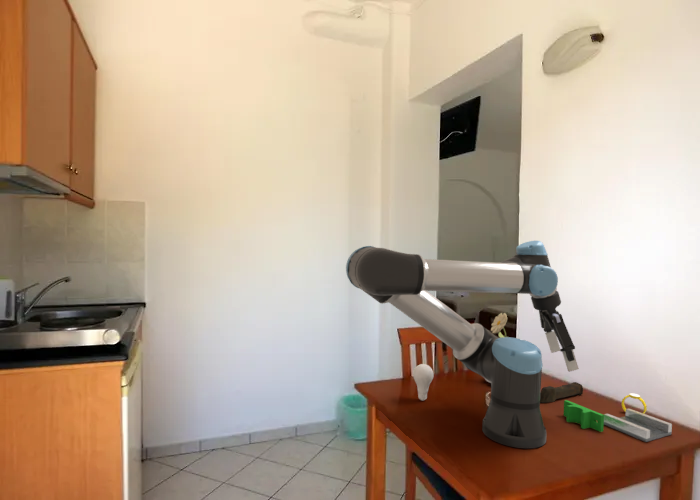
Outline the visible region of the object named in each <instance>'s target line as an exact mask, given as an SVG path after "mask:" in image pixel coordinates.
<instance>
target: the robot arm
mask: <svg viewBox="0 0 700 500" xmlns="http://www.w3.org/2000/svg"><path fill="white" fill-rule="evenodd" d="M515 251H516V252H515V253H516V254H515V255H514V256H512V257H509V258H506V259H503V260H502V261H499V262H491V261H473V260H469V261H468V260H455V259H454V260H453V259H452V260H450V259H435V258H434V259H431V258H423V257H422V255H421V254H415V253H406V252H405V253H404V252H401V251H396V250H392V249H389V248H384V247H376V246H373V245H365V246H362V247H359V248H357V249H355V250H354V251H353V252H352V253H351V254H350V255H349V257H348V259H347V260H346V261H347V262H346V265H345V272H346V276H347V279H348V281H349V283H350V284H352V286H353V287H355V288H357V289H360V290H361V291H363V292H364V293H366V295H368V296H369V297H371V298H372V299H373V300H375V301H377V302H378V303H380V304H381V305H383V304H386V303H387V304H388V303H389V304H390V305H391V306H393V307H395V308H396V309H397V310H398V311H400V312H402V313H403V314H404V315H406V316H407V317H408V318H410V319H411V320H412V321H413V322H415V323H416V324H418V325H419V326H420V327H422V328H424V329H425V330H426V331H428V332H429V333H430V334H432V335H433V336H435V337H436V338H437V339H438V340H439V341H441V342H442V343H444V344H445V345H446V346H448V347H450V348H451V349H452V354H453V356H454V358H456V360H458V361H459V362H461V363H462V364H463V365H464V366H465V367H466V368H467V369H468V370H470V371H472V373H473V372H474V373H475V374H478V375H479V376H481V377H482V378H483V379H484V380H485V379H487V380H488V381H490V382H491V383H490V402H489V404H488V406H487V410H486V412H485V416H484V418H483V419H482V428H481V429H482V432H483V434H484V435H485V436H486V437H487V438H489V439H490V440H491V441H493V442H495V443H498V444H501V445H504V446H507V447H512V448H517V449H536V448H540V447H542V446H544V445H545V444H546V443H547V429H546V426H545V425H544V419H543V416H542V412H541V407H540V406H541V402H540V393H541V390H542V387H541V386H542V373H543V358H542V355H543V354H542V351H541V349H540V348H539V347H538V346H537V345H536V344H534V343H532V342H530V341H528V340H525V339H521V338H516V337H509V336H508V337H507V336H506V337H505V336H504V337H502V338H500V337H499V336H497V335H496V334H495V333H492V331H491V330H489V329H487V328H486V327H484V326H483V325H482V324H481V323H477V322H474V323H470V322H469V321H467V320H466V319H465V318H464V317H463V316H461V315H460V314H458V313H457V312H455V311H454V310H453V309H452V308H450V307H449V306H448V305H446V304H445V303H444V302H442V301H440V299H438V298H437V297H435V296H434V295H433V294H432V293H430V292H455V293H457V292H461V293H463V292H465V293H466V292H467V293H494V294H497V293H498V294H499V293H501V294H519V295H520V294H521V295H523V294H526V295H529V296H530V300H531V302H532V307H533V309H535V310H537V311H538V315H539V321H540V326H541V328H542V329H543V331H544V334H545V337H546V341H547V343H548V346H549V350H550V353H551V354H552V353H553V354H554V353H557V352H561V353H562V356H563V360H564V363H565V366H566V369H567V371H568V372H574V371H578V370H579V365H578V362H577V359H576V355H575V352H574V350H575V349H576V346H575V345H574V343H573V340H572V337H571V335H570V333H569V330H568V328H567V326H566V324H565V321H564V319H563V315H562V313H560V312H559V311H558V310H557V309H556V308H557V307H559V306H560V305H561V303H562V300H561V297H560V294H559V291H557V287H558V283H559V282H558V281H559V278H558V275H557V272H556V271H555V270H554V269H553V268H552V267H551V264H550V259H549V257H548V256H549V255H548V252H547V250H546V247H545V244H544V243H543V242H542V241H541V240H529V241H525V242H522V243H521V244H519V245H517V246H516V248H515ZM560 346H561V348H560Z"/></svg>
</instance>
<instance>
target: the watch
mask: <svg viewBox="0 0 700 500" xmlns="http://www.w3.org/2000/svg"><path fill="white" fill-rule="evenodd" d="M627 398H630V399H635V400H638V401H639V402H641V403H642V405H643V412H642V413H643V414H646V412H647V411H648V410H647V409H648V405H647V404H646V402H645V400H644V399H643V398H642V397H641V395H640V394H638V393H632V392H631V393H628V395H625V396H623V398H622V400H621V408H622V410H623V412H625V413H626V409H627V408H626V405H625V400H626V399H627Z"/></svg>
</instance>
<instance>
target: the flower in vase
mask: <svg viewBox="0 0 700 500" xmlns="http://www.w3.org/2000/svg"><path fill="white" fill-rule="evenodd" d="M507 316H508V315H507V313H506V312H504V313H503V312H500V313H499V314H498V315H497V316H495V317H494V320H493V322H492V323H491V328H490V332H491V333H492V334H498V336H497V337H498V338H502V337H509V336H507V332H506V329H505V326H506V323H507V322H508V317H507ZM501 330H503V332H504V335H503V334H502V332H501ZM484 380H485V381H486V382H488V383H489V384H491V382H490V381H488V380H487V379H485V378H484Z"/></svg>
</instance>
